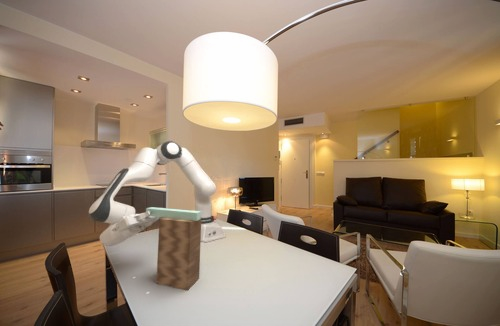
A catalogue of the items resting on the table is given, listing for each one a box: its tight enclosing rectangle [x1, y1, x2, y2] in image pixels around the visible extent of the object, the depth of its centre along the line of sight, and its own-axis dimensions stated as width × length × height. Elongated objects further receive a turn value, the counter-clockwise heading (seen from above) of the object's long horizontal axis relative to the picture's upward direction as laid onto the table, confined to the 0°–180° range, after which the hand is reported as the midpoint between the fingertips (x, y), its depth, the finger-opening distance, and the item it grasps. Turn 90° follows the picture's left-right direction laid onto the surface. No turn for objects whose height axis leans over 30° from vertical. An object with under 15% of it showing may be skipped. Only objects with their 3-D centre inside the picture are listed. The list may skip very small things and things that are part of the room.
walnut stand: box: [155, 217, 202, 291], centre depth 75 cm, size 14×8×25 cm, turn 75°
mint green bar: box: [145, 206, 201, 221], centre depth 77 cm, size 24×3×3 cm, turn 75°
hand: (156, 210), depth 79 cm, fingers open, 5 cm apart
